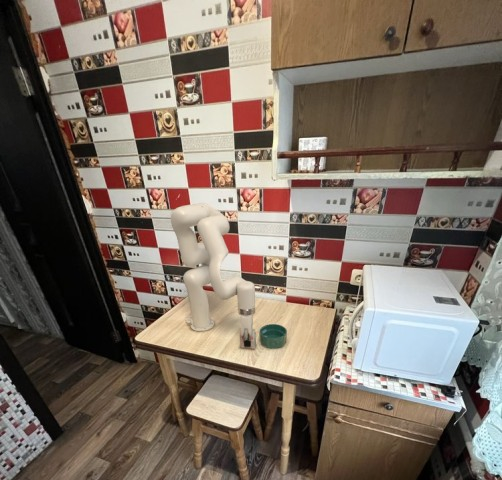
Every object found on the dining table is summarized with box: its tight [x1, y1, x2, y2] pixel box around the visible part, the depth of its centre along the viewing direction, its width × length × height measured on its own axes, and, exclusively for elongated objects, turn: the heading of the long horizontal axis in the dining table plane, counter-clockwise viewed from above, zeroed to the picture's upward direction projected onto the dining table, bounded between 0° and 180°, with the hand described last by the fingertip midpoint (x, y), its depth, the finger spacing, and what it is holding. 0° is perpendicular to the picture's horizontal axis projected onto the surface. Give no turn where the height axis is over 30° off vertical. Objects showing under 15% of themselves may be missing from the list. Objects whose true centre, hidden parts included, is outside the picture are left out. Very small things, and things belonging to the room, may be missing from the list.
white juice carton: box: [239, 328, 257, 350], centre depth 129 cm, size 4×7×10 cm, turn 76°
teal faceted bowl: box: [258, 323, 288, 349], centre depth 133 cm, size 13×13×6 cm
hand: (248, 343), depth 131 cm, fingers closed on white juice carton, 4 cm apart
